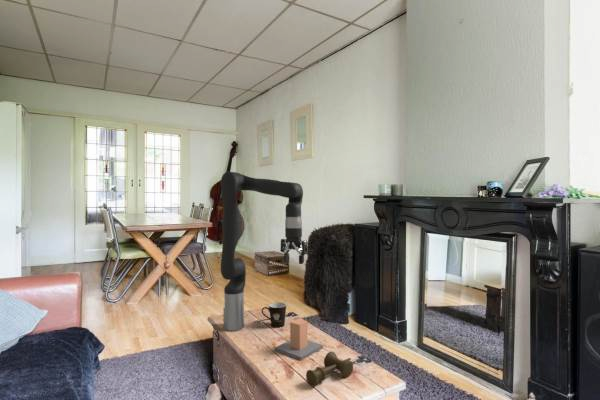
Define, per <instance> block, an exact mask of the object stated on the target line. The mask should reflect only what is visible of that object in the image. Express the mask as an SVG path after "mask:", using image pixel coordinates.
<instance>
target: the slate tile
mask: <svg viewBox="0 0 600 400" xmlns="http://www.w3.org/2000/svg"><path fill="white" fill-rule="evenodd" d="M322 349H324V345H323V344H321V343H318V342H315V341H312V340H308V346H306V347H304V348H303V349H301V350H299V349H296V348H293V347H291V345H290V340H287V341H286V342H283V343H281V344H279V345H277V346H275V347H274V351H276V352H277V353H280V354H283V355H286V356H289V357H291V358H293V359H297V360H299V361H303V360H304V359H307V358H308V357H310V356H311V355H313V354H314V353H316V352H318V351H320V350H322Z"/></svg>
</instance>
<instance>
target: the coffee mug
mask: <svg viewBox="0 0 600 400" xmlns="http://www.w3.org/2000/svg"><path fill="white" fill-rule="evenodd" d="M264 309H267V310H268V312H269V316H267V315H266V314H265V313H264ZM286 313H287V303H285V302H271V303H270V304H268V307H267V306H265V307H263V308H261V314H262V315H263V316H264V317H265V318H267V319H268V320H269V321H270V325H271V327H272V328H275V329H280V327H281V328H283V327H285V323H286V322H285V321H286Z"/></svg>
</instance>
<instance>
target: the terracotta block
mask: <svg viewBox="0 0 600 400" xmlns="http://www.w3.org/2000/svg"><path fill="white" fill-rule="evenodd" d="M289 325H290V326H289V330H290V331H289V334H290V337H289V339H290V345H291V347H293V348H296V349H299V350H301V349H303V348H304V347H306V346H308V321H307V320H303V319H300V318H296V319H295V320H292V321H290V323H289Z"/></svg>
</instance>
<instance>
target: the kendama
mask: <svg viewBox="0 0 600 400" xmlns="http://www.w3.org/2000/svg"><path fill="white" fill-rule="evenodd" d="M323 365H324V367H320V366H317V367H316V368H315V369H314V370H311V369H308V370H306V373H305V377H306V381H307V383H308V384H309V386H311V387H316V386H317V385H318V382H320V381H322V382H323V381H325V379H326V377H327V376H328V375H329V374H330V373H331V372H333V371H334V370H337V371H339V372H340V373H341V376H342V377H343V378H349V377H350V376H352V373H353V371H354V363H353V362H352V361H351V357H348V358H346V359H344V360H342V359H339V358H338V356H337V354H336V352H334V351H329V352H327V353H326V355H325V356H324V359H323Z"/></svg>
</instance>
